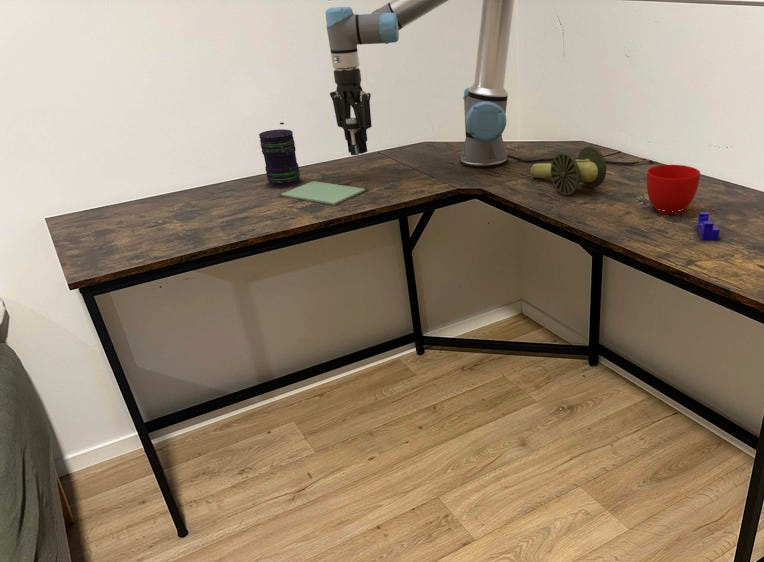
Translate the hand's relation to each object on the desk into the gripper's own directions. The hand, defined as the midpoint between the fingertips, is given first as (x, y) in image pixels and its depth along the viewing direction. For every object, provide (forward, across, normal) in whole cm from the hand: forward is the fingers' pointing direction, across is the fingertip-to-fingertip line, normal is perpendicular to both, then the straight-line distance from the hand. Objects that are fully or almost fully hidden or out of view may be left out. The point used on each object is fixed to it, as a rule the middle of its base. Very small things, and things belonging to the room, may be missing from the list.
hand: (358, 151), depth 203 cm
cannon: (+9, +60, +18) cm, 63 cm away
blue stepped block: (+10, +106, -3) cm, 106 cm away
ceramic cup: (+10, +93, +12) cm, 94 cm away
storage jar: (+8, -19, -13) cm, 25 cm away
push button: (0, 0, 0) cm, 1 cm away
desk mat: (+8, -1, -16) cm, 18 cm away
